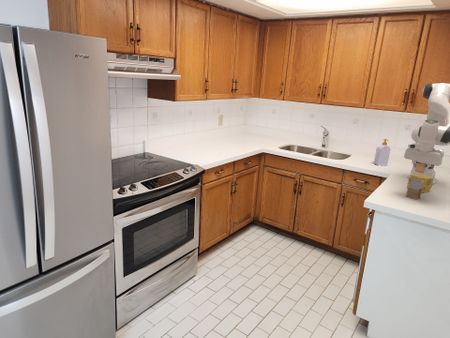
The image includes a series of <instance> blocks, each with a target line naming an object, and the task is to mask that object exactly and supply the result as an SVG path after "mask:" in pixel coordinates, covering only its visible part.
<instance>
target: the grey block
mask: <svg viewBox="0 0 450 338" xmlns="http://www.w3.org/2000/svg"><path fill="white" fill-rule="evenodd" d="M422 183H423V181H419V180H415V179H414V180H411V183H410V187H409V188H411V189H415V190H420V189H421V187H422Z"/></svg>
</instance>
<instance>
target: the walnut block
mask: <svg viewBox="0 0 450 338" xmlns="http://www.w3.org/2000/svg"><path fill="white" fill-rule="evenodd" d="M421 192H422V189H420V190H415V189H411V188H407V191H406V194H405V197H406V198H409V199H412V200H415V201H416V200H419V199H420V198H421V195H422V193H421Z"/></svg>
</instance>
